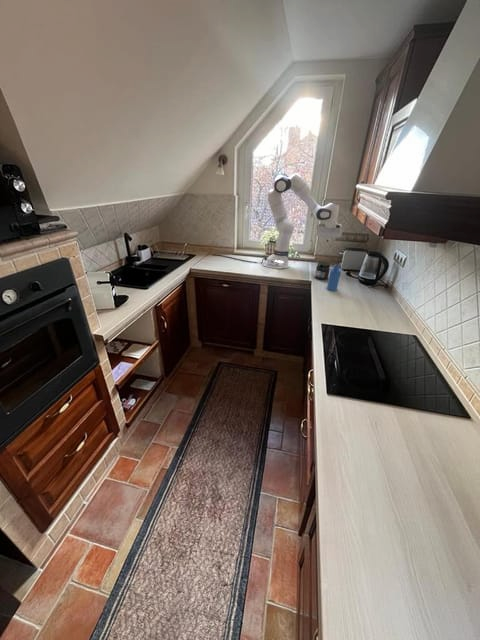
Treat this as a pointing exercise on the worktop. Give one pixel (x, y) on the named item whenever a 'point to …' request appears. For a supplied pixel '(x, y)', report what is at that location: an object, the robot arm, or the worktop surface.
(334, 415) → the worktop surface
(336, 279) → the blue bottle
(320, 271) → the supplement container
